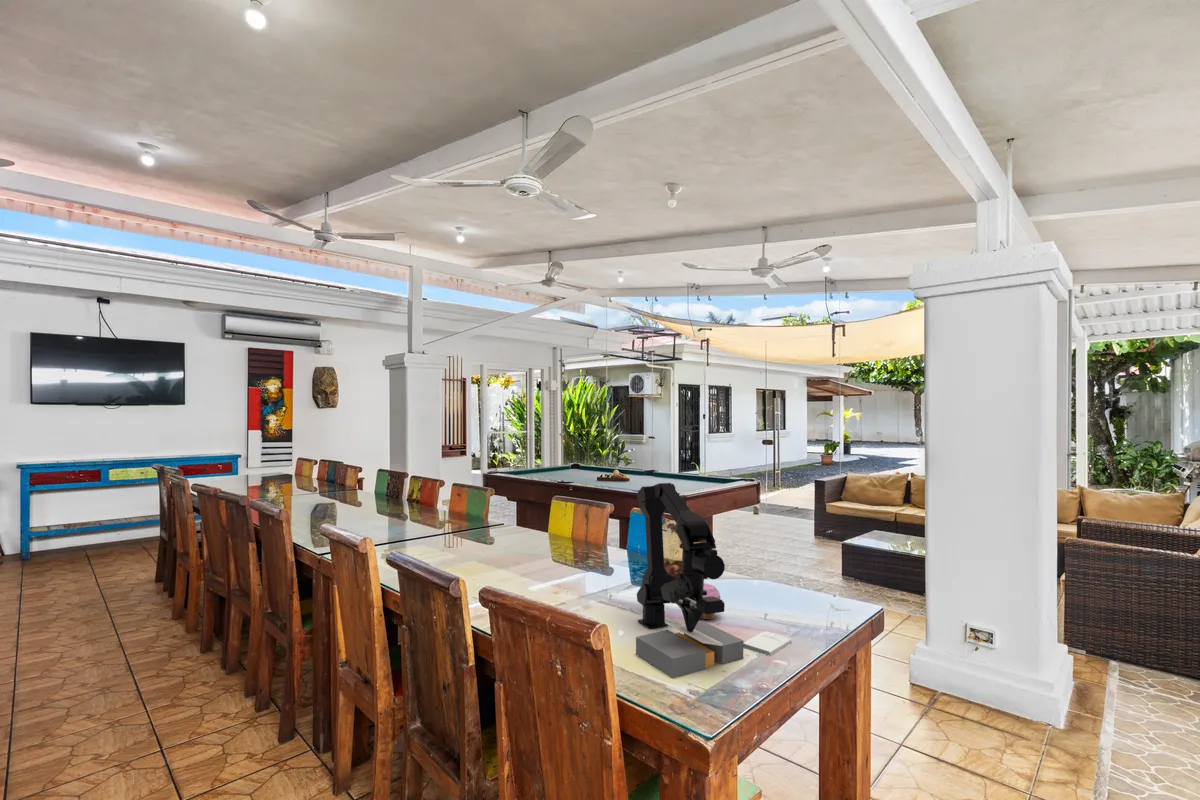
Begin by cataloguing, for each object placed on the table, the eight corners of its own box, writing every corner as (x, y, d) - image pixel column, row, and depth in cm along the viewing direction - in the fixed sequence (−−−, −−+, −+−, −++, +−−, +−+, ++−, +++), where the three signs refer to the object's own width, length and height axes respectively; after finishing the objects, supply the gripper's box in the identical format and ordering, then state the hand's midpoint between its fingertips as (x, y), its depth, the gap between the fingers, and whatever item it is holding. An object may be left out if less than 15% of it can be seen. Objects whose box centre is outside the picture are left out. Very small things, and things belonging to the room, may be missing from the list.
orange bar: (668, 634, 161) (679, 632, 163) (668, 648, 161) (679, 645, 163) (703, 654, 149) (714, 651, 150) (703, 668, 149) (714, 666, 150)
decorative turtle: (660, 576, 224) (662, 554, 225) (701, 584, 220) (703, 561, 220) (654, 582, 215) (656, 559, 215) (697, 590, 210) (699, 567, 211)
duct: (635, 654, 156) (636, 636, 156) (703, 637, 167) (703, 621, 167) (672, 678, 143) (672, 658, 143) (743, 658, 155) (743, 640, 154)
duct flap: (664, 622, 160) (665, 620, 160) (683, 625, 164) (683, 623, 164) (703, 643, 148) (703, 640, 148) (722, 646, 151) (722, 643, 151)
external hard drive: (741, 649, 162) (763, 635, 171) (770, 658, 156) (791, 644, 165) (741, 642, 162) (763, 630, 171) (770, 651, 156) (791, 638, 165)
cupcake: (721, 623, 179) (722, 589, 179) (691, 622, 179) (692, 587, 179) (717, 612, 187) (718, 580, 187) (689, 611, 188) (689, 578, 188)
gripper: (645, 563, 159) (642, 624, 159) (691, 581, 143) (688, 648, 143) (679, 560, 165) (677, 619, 164) (727, 577, 149) (724, 642, 148)
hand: (690, 631), depth 155 cm, fingers closed, pressing on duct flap
